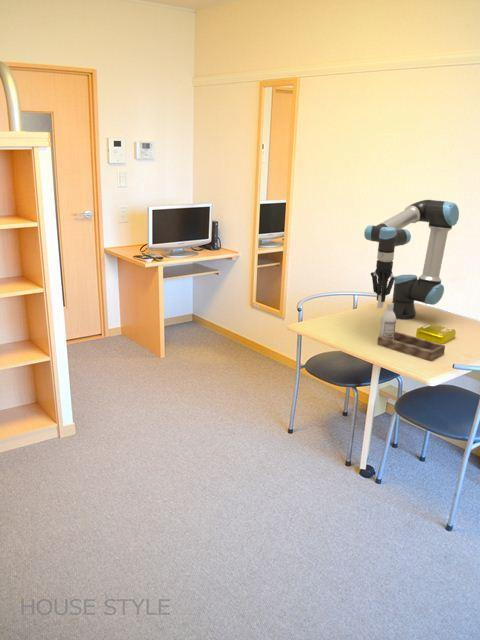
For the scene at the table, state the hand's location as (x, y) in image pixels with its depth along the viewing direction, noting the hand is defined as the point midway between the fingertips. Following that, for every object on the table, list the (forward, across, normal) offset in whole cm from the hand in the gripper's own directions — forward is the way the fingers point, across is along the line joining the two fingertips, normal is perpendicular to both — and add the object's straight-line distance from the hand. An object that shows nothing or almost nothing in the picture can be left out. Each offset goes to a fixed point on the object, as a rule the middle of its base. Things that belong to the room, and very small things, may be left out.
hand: (380, 307), depth 263 cm
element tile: (+17, +19, +25) cm, 35 cm away
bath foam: (+17, +5, 0) cm, 18 cm away
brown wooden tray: (+17, +18, 0) cm, 24 cm away
